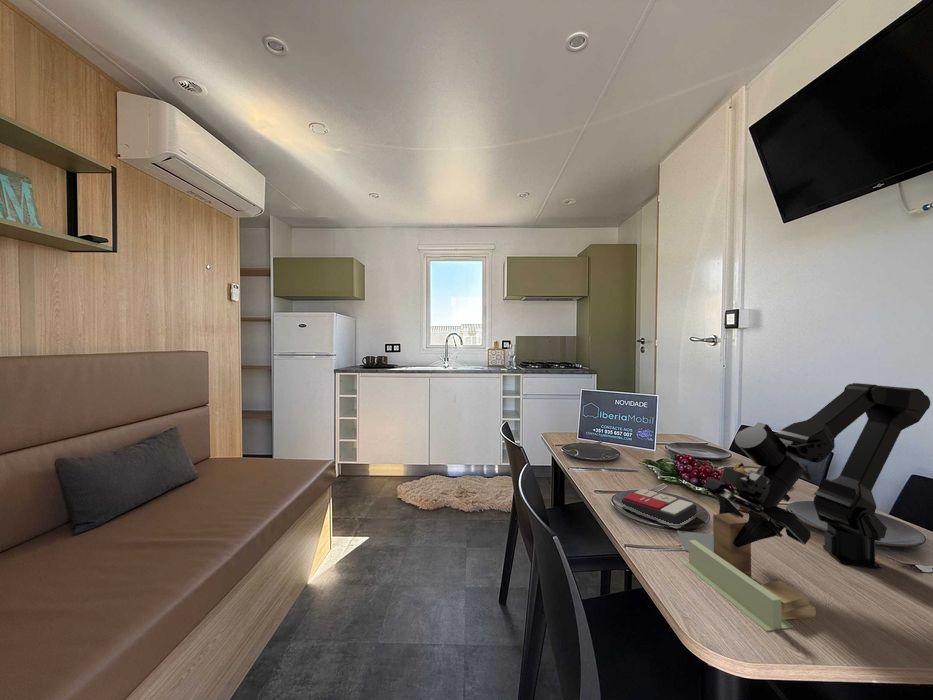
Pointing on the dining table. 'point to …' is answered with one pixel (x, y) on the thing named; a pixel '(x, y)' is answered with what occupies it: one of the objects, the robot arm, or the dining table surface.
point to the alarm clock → (744, 468)
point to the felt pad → (701, 538)
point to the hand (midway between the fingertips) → (725, 539)
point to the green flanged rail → (737, 588)
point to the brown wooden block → (731, 541)
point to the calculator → (660, 506)
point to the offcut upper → (787, 595)
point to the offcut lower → (799, 613)
